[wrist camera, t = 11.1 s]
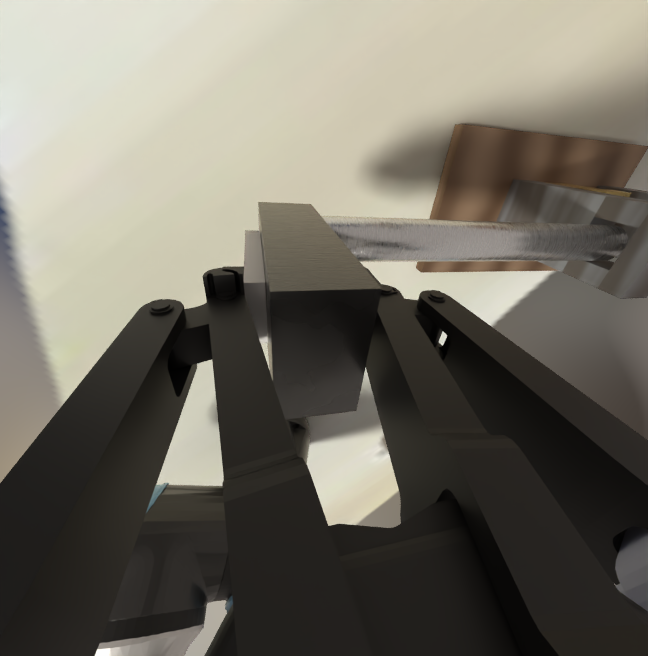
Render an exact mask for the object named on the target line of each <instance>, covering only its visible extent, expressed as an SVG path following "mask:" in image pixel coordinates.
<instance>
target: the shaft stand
mask: <svg viewBox="0 0 648 656" xmlns="http://www.w3.org/2000/svg"><path fill="white" fill-rule="evenodd" d="M647 149H648V146H641V145H633V144H624V143H616V142H607V141H599V140H590V139H582V138H574V137H565V136H557V135H548V134H540V133H531V132H523V131H515V130H506V129H498V128H489V127H481V126H472V125H455V128H454V131H453V135H452V139H451V142H450V146H449V150H448V153H447V157H446V161H445V164H444V168H443V171H442V175H441V179H440V182H439V186H438V190H437V193H436V197H435V201H434V204H433V208H432V211H431V215H430V219H434V220H465V221H497V222H528V223H559V224H590V225H616V226H619V227H621V228H623V229H624V230H625V231H626V233H627V237H628V240H627V244H626V247H625V248H624V250H623V251H622V252H621V253H620V254H619V255H617V256H616V258H618V259H617V260H616V262H615V263H614V262H611V261H608V260H604V261H418V262H417V266H416V268H417V269H418V270H419V271H420V272H482V271H552V270H558V271H560V272H563V273H565V274H567V275H569V276H572V277H574V278H576V279H578V280H580V281H583V282H585V283H587V284H589V285H592V286H594V287H596V288H598V289H601V290H602V291H605V292H607V293H609V294H611V295H614V296H616V297H618V298H620V299H626V298H646V297H647V296H648V192H647V191H641V190H634V189H627V188H624V186H625V185H626V183H627V182H628V180H629V178H630V177H631V175H632V173H633V172H634V170H635V168H636V167H637V165H638V163H639V162H640V160H641V159H642V157H643V155H644V154H645V152H646V150H647ZM544 182H550V183H565V184H574V185H580V186H586V187H592V188H598V189H609V190H617V191H623V192H629V193H632V194H631V195H630V197H624V196H618V195H613V194H607V193H601V192H595V191H590V190H584V189H578V188H572V187H567V186H561V185H555V184H550V183H544Z"/></svg>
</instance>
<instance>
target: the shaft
mask: <svg viewBox="0 0 648 656" xmlns="http://www.w3.org/2000/svg"><path fill="white" fill-rule="evenodd" d="M258 206H259V214H258V220H259V231H260V237H261V247H262V256H263V266H264V275H265V287H266V312H267V336H268V343H267V344H268V356H269V367H270V374H271V377H272V380H273V383H274V386H275V389H276V392H277V395H278V399H279V402H280V405H281V408H282V411H283V414H284V417H285V420H287V419H294V418H302V417H310V416H318V415H326V414H334V413H342V412H349V411H356V409H357V404H358V400H359V395H360V390H361V386H362V381H363V376H364V372H365V367H366V362H367V357H368V353H369V348H370V343H371V339H372V334H373V329H374V325H375V320H376V315H377V311H378V306H379V301H380V297H381V292H382V288H381V287H380V285H379V284H378V283H377V282H376V281H375V279H374V278H373V277H372V276H371V275H370V273H369V272H368V271H367V270H366V269H365V268H364V266H363V265H362V264H361V263H360V262H411V261H604V260H609V259H612V258H614V257H616V256H617V255H619V254H620V253H621V252H622V251H623V250H624V248H625V247H626V244H627V240H628V237H627V233H626V231H625V230H624V229H623V228H621V227H619V226H616V225H590V224H559V223H528V222H497V221H465V220H434V219H403V218H372V217H340V216H320V214H319V213H318V212H317V211H316V210H315V208H314V207H313V206H312V205H311V204H293V203H269V202H258Z"/></svg>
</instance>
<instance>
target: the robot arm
mask: <svg viewBox="0 0 648 656" xmlns="http://www.w3.org/2000/svg"><path fill="white" fill-rule="evenodd" d="M364 268H365V267H364ZM365 269H366V270H367V271H368V272H369V273H370V275H371V276H372V277H373V278H374V279H375V281H376V282H377V283H378V284H379V285H380V287H381V288H382V292H381V297H380V301H379V306H378V311H377V315H376V320H375V325H374V329H373V334H372V339H371V343H370V348H369V353H368V357H367V362H366V369H367V373H368V377H369V380H370V384H371V388H372V391H373V395H374V399H375V403H376V406H377V410H378V414H379V417H380V421H381V425H382V429H383V432H384V436H385V440H386V444H387V447H388V451H389V455H390V458H391V462H392V466H393V470H394V473H395V477H396V481H397V484H398V488H399V492H400V498H401V513H400V516H401V524H400V525H398V526H396V527H394V528H381V527H369V526H358V525H347V524H336V525H331V526H328V524H327V521H326V518H325V515H324V512H323V509H322V506H321V504H320V501H319V498H318V495H317V492H316V489H315V486H314V483H313V480H312V477H311V475H310V472H309V469H308V467H307V457H308V450H309V444H310V431H309V426H308V422H307V420H306V418H305V417H302V418H294V419H287V420H285V417H284V414H283V411H282V408H281V405H280V402H279V399H278V395H277V392H276V389H275V386H274V383H273V380H272V377H271V374H270V371H269V368H268V365H267V362H266V359H265V356H264V352H263V349H262V346H261V343H268V336H267V312H266V287H265V275H264V266H263V256H262V247H261V237H260V231H248V230H245V255H244V267H223V268H217V269H212V270H209V271H207V272H206V273H204V275H203V281H204V287H205V293H206V298H207V303H205V304H204V305H201V306H198V307H194V308H189V309H184V306H183V304H182V303H181V302H179V301H176V300H170V299H165V300H163V299H160V300H157V301H156V300H155V301H152V302H150V303H148V304H146V305H144V306H142V307H141V308H140V309H139V310H138V311H137V313H136V314H135V315H134V316H133V318H132V319H131V320H130V321H129V323H128V324H127V325H126V326H125V328H124V329H123V330H122V331H121V333H120V334H119V335H118V336H117V338H116V339H115V340H114V341H113V343H112V344H111V345H110V346H109V348H108V349H107V350H106V352H105V353H104V354H103V355H102V357H101V358H100V359H99V360H98V362H97V363H96V364H95V365H94V367H93V368H92V369H91V370H90V372H89V373H88V374H87V375H86V377H85V378H84V379H83V380H82V382H81V383H80V384H79V385H78V387H77V388H76V389H75V390H74V392H73V393H72V394H71V395H70V397H69V398H68V399H67V400H66V402H65V403H64V404H63V405H62V407H61V408H60V409H59V410H58V412H57V413H56V414H55V415H54V417H53V418H52V419H51V420H50V422H49V423H48V424H47V425H46V427H45V428H44V429H43V430H42V432H41V433H40V434H39V435H38V437H37V438H36V439H35V440H34V442H33V443H32V444H31V446H30V447H29V448H28V449H27V451H26V452H25V453H24V454H23V455H22V457H21V458H20V459H19V461H18V462H17V463H16V464H15V465H14V467H13V468H12V469H11V471H10V472H9V473H8V474H7V476H6V477H5V478H4V479H3V481H2V482H1V483H0V656H184V655H185V653H186V651H187V649H188V647H189V646H190V644H191V643H192V642H193V640H194V639H195V638H196V637H197V635H198V634H199V633H200V631H201V630H202V629H203V627H204V620H205V613H206V605H207V603H209V602H213V601H221V600H226V601H227V602H226V604H225V609H226V610H227V615H226V616H225V618H224V620H223V622H222V624H221V625H220V627H219V629H218V631H217V633H216V635H215V637H214V639H213V641H212V643H211V645H210V646H209V648H208V650H207V652H206V654H205V656H648V440H647V439H645V438H644V437H643V436H641V435H640V434H638V433H637V432H636V431H634V430H633V429H631V428H630V427H629V426H627V425H626V424H625V423H623V422H622V421H620V420H619V419H618V418H616V417H615V416H614V415H612V414H611V413H610V412H608V411H606V410H605V409H604V408H602V407H601V406H600V405H598V404H597V403H596V402H594V401H593V400H592V399H590V398H588V397H587V396H586V395H585V394H583V393H582V392H581V391H579V390H578V389H576V388H575V387H574V386H572V385H571V384H570V383H568V382H567V381H565V380H564V379H563V378H561V377H560V376H559V375H557V374H556V373H554V372H553V371H552V370H550V369H549V368H547V367H546V366H545V365H543V364H542V363H540V362H539V361H538V360H537V359H535V358H534V357H532V356H531V355H530V354H528V353H527V352H525V351H524V350H523V349H521V348H520V347H519V346H517V345H516V344H514V343H513V342H512V341H510V340H509V339H508V338H506V337H505V336H503V335H502V334H501V333H499V332H498V331H497V330H495V329H494V328H492V327H491V326H490V325H488V324H487V323H486V322H484V321H483V320H481V319H480V318H479V317H477V316H476V315H475V314H473V313H472V312H470V311H469V310H468V309H466V308H465V307H464V306H462V305H461V304H459V303H458V302H457V301H455V300H454V299H452V298H451V297H450V296H448V295H446V294H444V293H441V292H440V291H436V290H432V291H429V290H427V291H422V292H421V293H420V295H419V299H418V300H410V299H404V298H403V296H402V294H401V293H400V291H399V290H397V289H396V288H394V287H391V286H388V285H382V284H380V283H379V281H378V280H377V279H376V278H375V277H374V276H373V274H372V273H371V272H370V271H369V270H368V269H367V268H365ZM442 331H444V332H445V333H446V334H447V338H446V341H445V343H444V345H443V346H442V345H441V344H440V343H439V339H440V336H441V334H442ZM211 359H212V360H213V370H214V380H215V391H216V401H217V411H218V422H219V432H220V442H221V452H222V463H223V473H224V481H223V486H194V485H168V484H169V483H164V484H162V485H156V483H157V480H158V477H159V474H160V472H161V469H162V466H163V463H164V460H165V457H166V455H167V452H168V449H169V446H170V443H171V440H172V437H173V435H174V432H175V429H176V426H177V423H178V420H179V418H180V415H181V412H182V409H183V406H184V403H185V401H186V398H187V395H188V392H189V389H190V386H191V383H192V381H193V378H194V375H195V372H196V369H197V363H200V362H204V361H207V360H211ZM614 583H615V584H616V586H615V585H614Z"/></svg>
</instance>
